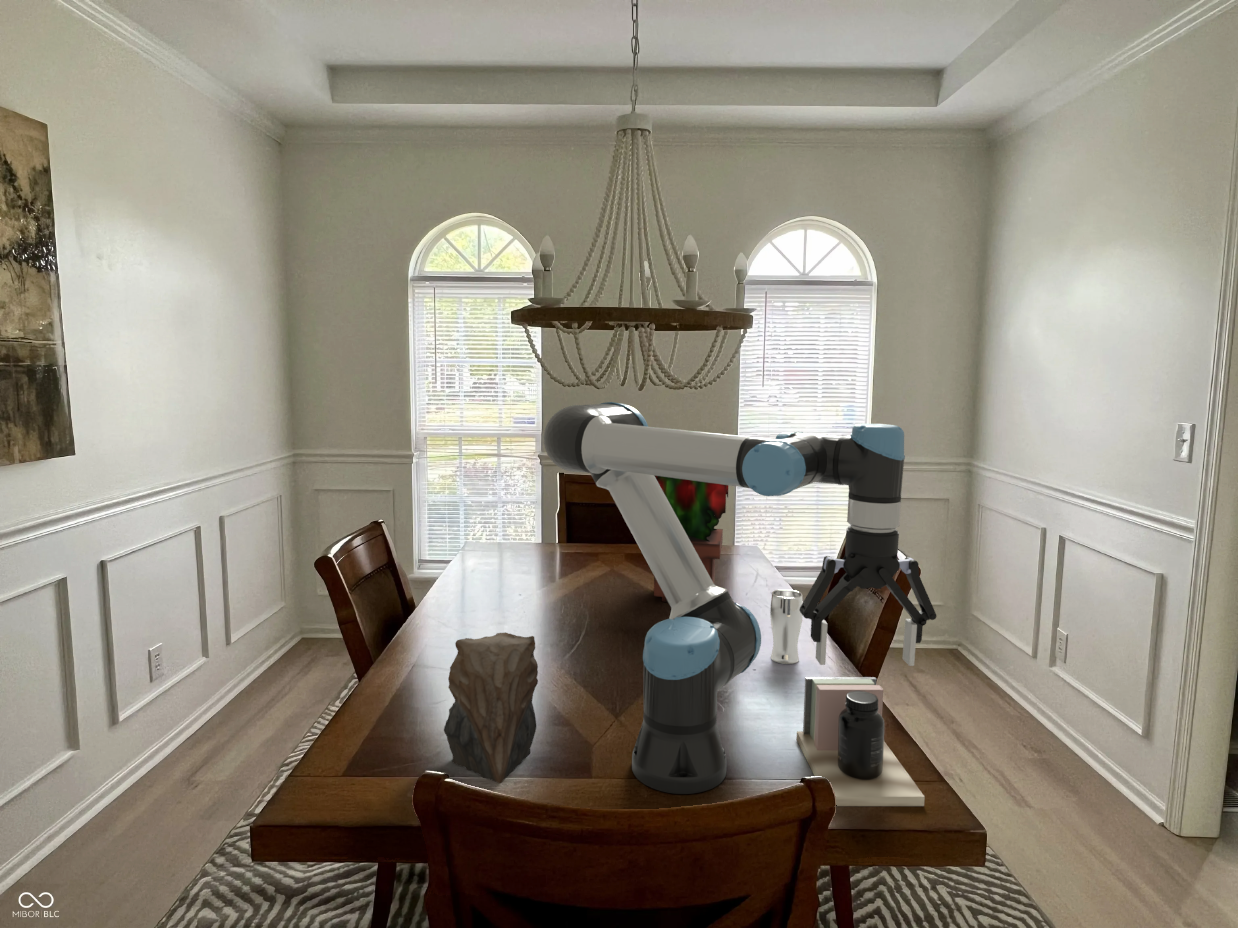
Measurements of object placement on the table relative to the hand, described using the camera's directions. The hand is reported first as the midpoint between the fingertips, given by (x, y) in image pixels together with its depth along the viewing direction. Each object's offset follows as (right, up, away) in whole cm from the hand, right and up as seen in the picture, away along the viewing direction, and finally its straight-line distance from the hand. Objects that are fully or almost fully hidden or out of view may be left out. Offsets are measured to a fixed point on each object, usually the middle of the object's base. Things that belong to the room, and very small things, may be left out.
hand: (864, 662), depth 116 cm
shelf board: (0, -19, +4) cm, 19 cm away
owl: (-58, -18, +7) cm, 62 cm away
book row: (0, -16, +11) cm, 20 cm away
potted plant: (-19, -7, +96) cm, 98 cm away
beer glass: (-1, -13, +51) cm, 52 cm away
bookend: (0, -16, +14) cm, 21 cm away
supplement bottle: (0, -18, +2) cm, 18 cm away
